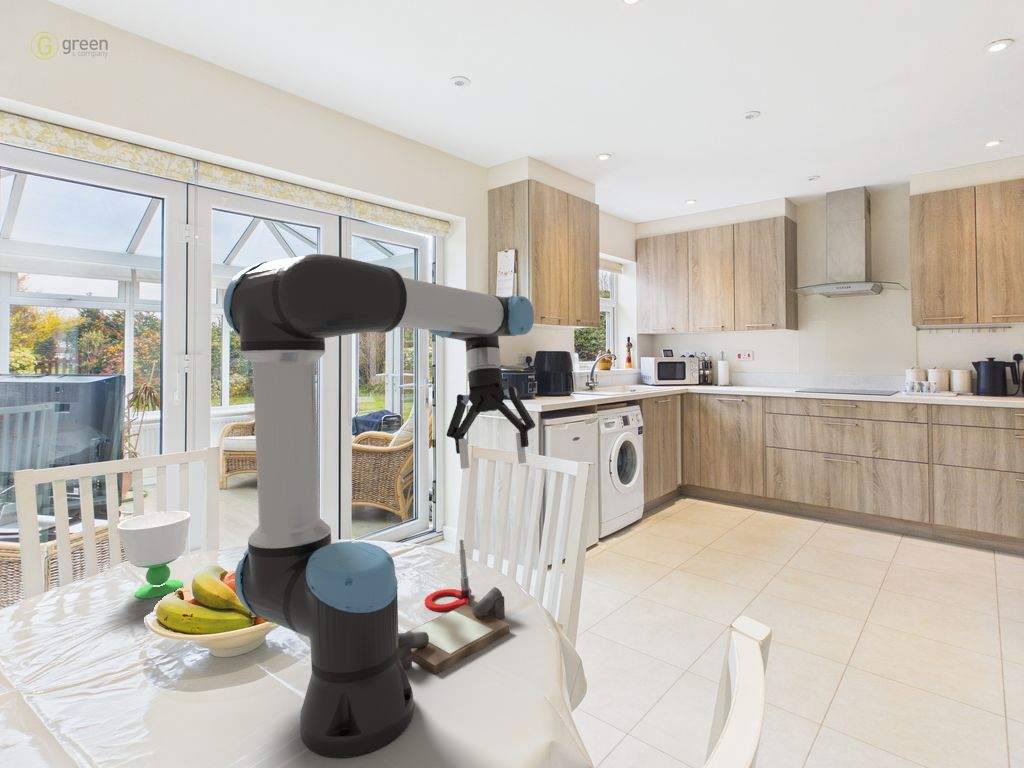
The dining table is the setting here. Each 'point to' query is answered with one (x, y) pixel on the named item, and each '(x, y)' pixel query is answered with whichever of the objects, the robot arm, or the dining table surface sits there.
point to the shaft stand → (454, 634)
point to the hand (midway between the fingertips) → (493, 466)
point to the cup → (155, 547)
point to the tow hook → (462, 594)
